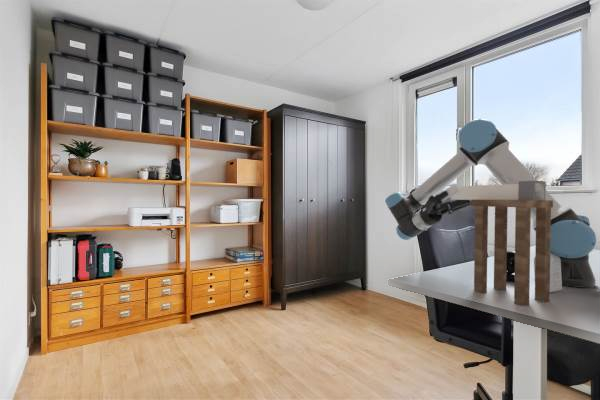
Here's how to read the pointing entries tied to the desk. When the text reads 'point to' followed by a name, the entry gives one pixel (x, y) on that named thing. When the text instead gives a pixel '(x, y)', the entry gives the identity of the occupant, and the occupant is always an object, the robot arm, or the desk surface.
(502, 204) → the walnut stand
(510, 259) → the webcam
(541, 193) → the light grey bar
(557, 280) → the photo printer
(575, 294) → the desk surface
